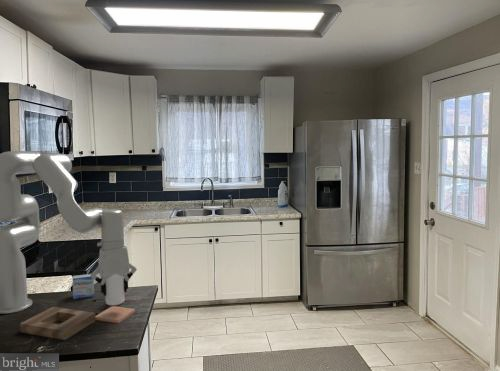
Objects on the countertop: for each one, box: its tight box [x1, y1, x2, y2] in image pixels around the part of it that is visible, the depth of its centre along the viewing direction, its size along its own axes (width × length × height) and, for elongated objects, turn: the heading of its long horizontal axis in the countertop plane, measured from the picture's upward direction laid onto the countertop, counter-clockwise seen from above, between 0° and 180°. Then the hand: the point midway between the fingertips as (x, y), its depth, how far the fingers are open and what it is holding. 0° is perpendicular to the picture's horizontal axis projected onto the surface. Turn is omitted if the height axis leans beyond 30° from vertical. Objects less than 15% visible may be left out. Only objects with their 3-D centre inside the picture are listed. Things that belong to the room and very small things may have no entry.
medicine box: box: [72, 273, 95, 300], centre depth 156 cm, size 8×4×9 cm, turn 114°
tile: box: [95, 305, 136, 324], centre depth 138 cm, size 10×10×1 cm
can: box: [104, 274, 125, 307], centre depth 137 cm, size 6×6×12 cm
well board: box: [19, 306, 96, 341], centre depth 130 cm, size 18×14×3 cm
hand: (114, 292), depth 138 cm, fingers closed on can, 6 cm apart
